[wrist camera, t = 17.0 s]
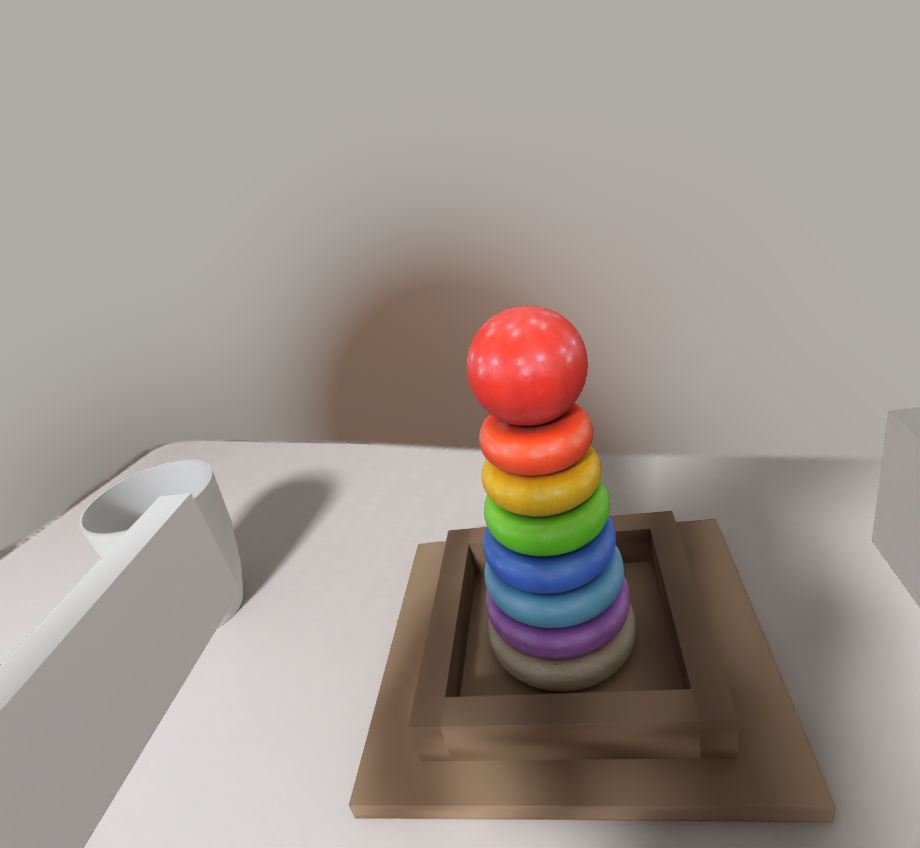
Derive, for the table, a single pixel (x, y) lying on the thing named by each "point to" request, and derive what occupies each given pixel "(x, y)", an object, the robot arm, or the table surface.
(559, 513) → the stacking toy
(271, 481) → the table surface
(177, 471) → the cup
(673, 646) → the walnut jig
